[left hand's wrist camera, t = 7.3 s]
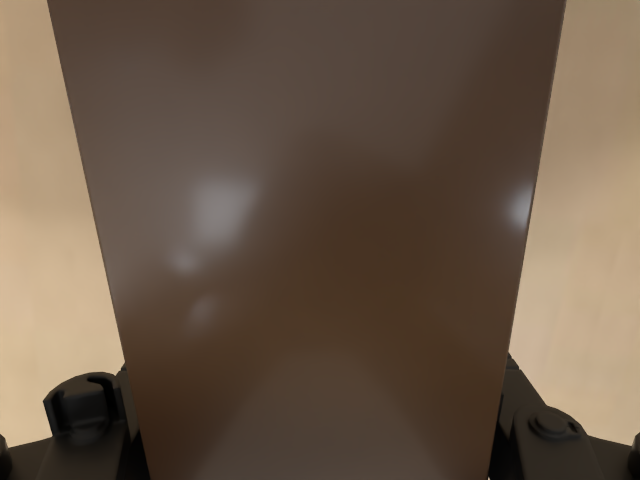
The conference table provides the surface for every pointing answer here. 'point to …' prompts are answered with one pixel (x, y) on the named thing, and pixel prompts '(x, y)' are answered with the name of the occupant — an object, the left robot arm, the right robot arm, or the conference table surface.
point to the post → (312, 222)
